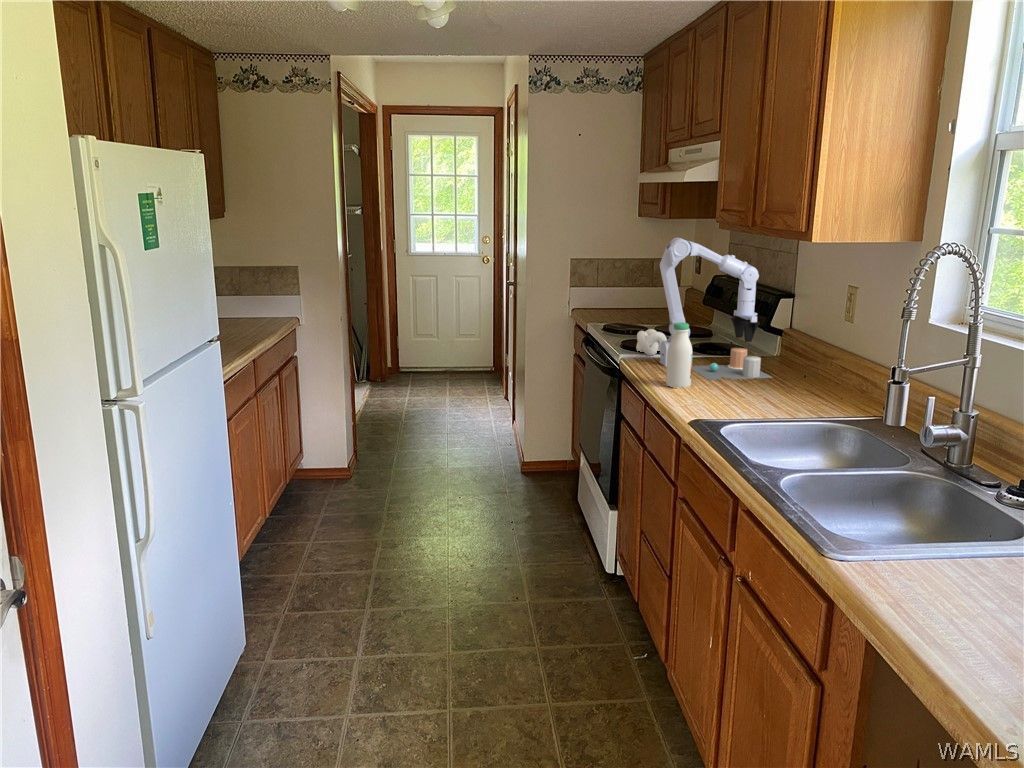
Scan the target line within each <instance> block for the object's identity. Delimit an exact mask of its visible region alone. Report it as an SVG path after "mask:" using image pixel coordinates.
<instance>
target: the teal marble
mask: <svg viewBox="0 0 1024 768" xmlns="http://www.w3.org/2000/svg"><path fill="white" fill-rule="evenodd" d="M718 365H719V364H718V363H716V362H712V363H710V364H709V366H710V367H709V368H710V370H711V371H712V372H716V371H717V370H718V368H719V366H718Z"/></svg>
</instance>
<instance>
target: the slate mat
mask: <svg viewBox="0 0 1024 768" xmlns="http://www.w3.org/2000/svg"><path fill="white" fill-rule="evenodd" d="M718 366H719V368H718V370H717V371H716V372H712V371H711V370H710V368H709V367H710V365H692V371H694V372H695V373H697V374H698V375H700V376H702V377H703V378H705V379H706V380H708V381H721V380H720V378H721V377H724V378H732V379H731V380H751V379H753V380H755V379H754V378H756V379H774V377H773V376H772V375H769V374H767V373H765V372H763V371H762V370H760V376H759V377H745V376H743V375H742V372H743V368H733V367H730V364H718ZM717 379H719V380H717Z"/></svg>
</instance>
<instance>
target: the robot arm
mask: <svg viewBox="0 0 1024 768" xmlns="http://www.w3.org/2000/svg"><path fill="white" fill-rule="evenodd" d="M687 256H689V257H694V256H699V257H701V258H703V259H705V260H708V261H710V262H711V263H714V264H716V265H717V266H718V270H719V271H721V272H723V273H725V274H728V275H729V276H731V277H734V278H736V279H737V278H738V280H739V285H738V291H737V292H738V293H737V305H736V306H737V308H736V309H735V310H733V316H734V317H730V320H731V322H732V325H733V328H734V335H735V338H736V339H739V338H743V336H744V342H746V343H751V342H752V341H753V338H754V335H755V333H756V331H757V330H758V329H757V328H758V327H759V325H760V322H759V321H758V313H757V312H755V305H756V293H757V292H756V291H757V281H758V280H759V277H760V274H759V271H758V269H757V268H756V267H754V266H752V265H751V264H748V262H747V261H742V260H740V259H737V258H736V255H733V254H731V255H730V254H725V255H720V254H719V253H717V252H715V251H713V250H711V249H709V248H707V247H705V246H703V245H702V244H699V243H697V242H694V241H690V240H685V239H683V238H681V237H675V238H673V239H671V240H670V241H669V243H667V245H666V246H665V249H664V252H663V254H662V257H661V259H660V263H659V269H660V274H661V279H662V284H663V285H662V286H663V289H664V294H665V299H666V303H667V309H668V313H669V314H668V316H669V317H668V318H669V325H668V331H669V333H670V335H669V337H668V339H667V341H663V342H662V343H661V350H660V352H659V356H660V357H659V361H658V362H659V363H660V364H661V365H663V366H664V367H665V368H667V354H668V347H669V344H670V342H671V340H672V338H673V335H674V324H675V323H687V322H686V318H685V315H684V310H683V306H682V302H681V301H682V300H681V296H680V295H681V294H680V291H679V286H678V281H677V276H676V270H675V268H676V267H677V266H678V264H680V262H681V261H682V260H683V259H685V258H686V257H687ZM690 335H691V329H690V328H689V331H688V337H689V338H690Z"/></svg>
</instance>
